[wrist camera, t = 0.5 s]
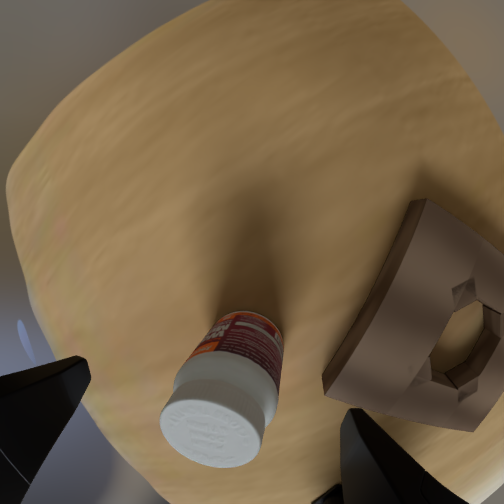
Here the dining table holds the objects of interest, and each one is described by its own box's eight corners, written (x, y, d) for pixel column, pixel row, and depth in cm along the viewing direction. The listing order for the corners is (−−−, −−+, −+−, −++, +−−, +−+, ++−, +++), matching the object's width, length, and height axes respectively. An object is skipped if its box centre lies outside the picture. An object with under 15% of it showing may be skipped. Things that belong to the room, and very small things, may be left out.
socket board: (463, 417, 19) (473, 432, 16) (321, 375, 21) (324, 395, 18) (533, 292, 17) (549, 299, 14) (410, 201, 19) (427, 198, 16)
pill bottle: (227, 295, 22) (165, 364, 11) (297, 329, 21) (296, 424, 10) (200, 355, 23) (139, 438, 12) (264, 385, 22) (240, 485, 11)
